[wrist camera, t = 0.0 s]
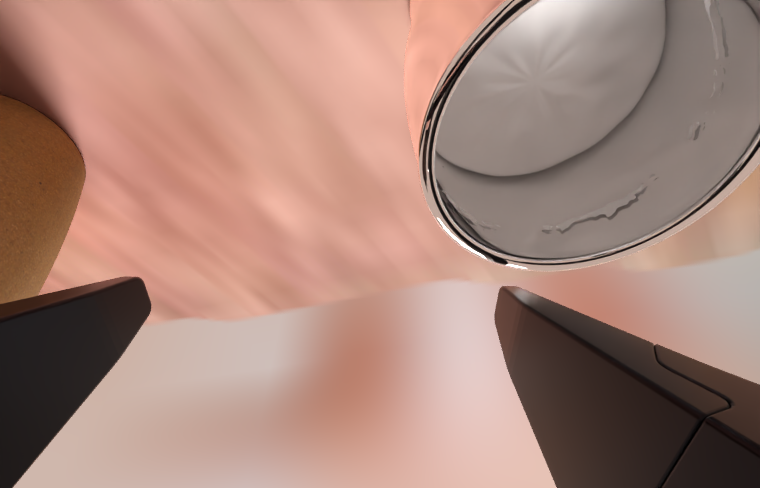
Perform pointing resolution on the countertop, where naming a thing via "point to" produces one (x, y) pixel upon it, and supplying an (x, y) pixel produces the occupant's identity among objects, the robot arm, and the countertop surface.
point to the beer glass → (579, 121)
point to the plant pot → (33, 196)
